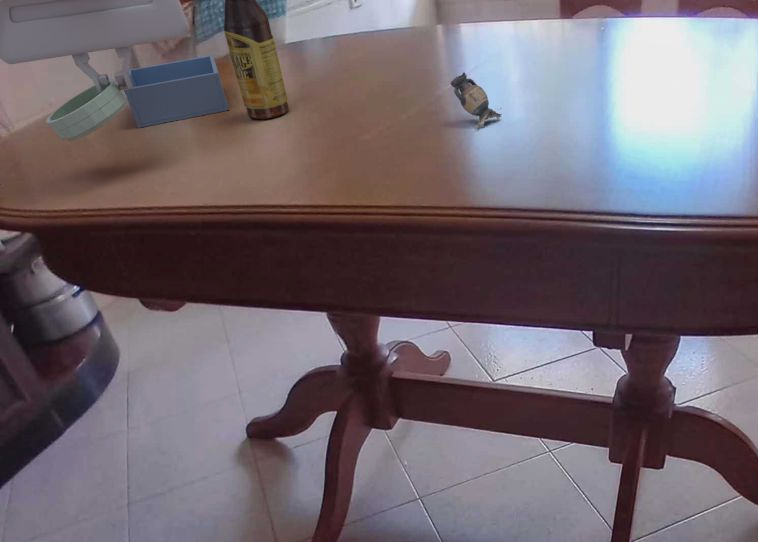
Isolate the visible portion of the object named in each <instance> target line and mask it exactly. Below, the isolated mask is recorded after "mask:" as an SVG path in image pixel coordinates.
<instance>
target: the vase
mask: <svg viewBox="0 0 758 542" xmlns="http://www.w3.org/2000/svg"><path fill="white" fill-rule="evenodd" d="M468 74H470V72H468ZM450 86H451V87H453V88H454V89H453V93H454V95H455V96H456V98H457V99H458V100H459V102H460V105H461V107H462V108H463V109H464V111H465V112H467V113H468V114H469V115H472V116H476V117H478V118H479V121H478V123H477V124H476V125H473V126H472V127H469V129H470V130H472V129H473V128H474V130H475V132H477V130H478V129H480V128H485V122H486V120H488V119H493V118H496V119H497V120H499V119H501V117H502V115H503V113H498V112H497V111H499V112H500V111H501V110H502V109H503V108H502V107H500V108H495V110H494V109H492V108H490V107H489V105H490V102H489V97H488V95H487V93H486V91H485V90H484V88H483V87H482V86H480V85H478V84H477V83H476V82H475V80H473V79H472V78H467V74H466V72H463V73H462V74H461V75H458V76H455V78H453V79H452V81H451V82H450ZM496 110H497V111H496Z"/></svg>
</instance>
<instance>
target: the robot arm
mask: <svg viewBox="0 0 758 542" xmlns="http://www.w3.org/2000/svg"><path fill="white" fill-rule="evenodd" d="M189 30H190V25H189V23H188V20H187V16H186V15H185V11H184V9H183V6H182V3H181V1H180V0H0V60H1V61H2V62H4V63H6V64H7V65H17V64H24V63H29V62H35V61H36V62H37V61H43V60H49V59H57V58H62V57H68V56H72V60H73V62H74V64H75V67H77V68H78V69H79V70H80V71H81V72H83V73H84V75H86V76H87V77H88V78H89V79H91V80H92V81H93V84H94V85H95V87H96V89H97V92H98V93H99V94H100V93H101V92H102V91H104V90H105V89H106V88H107V87H108V85H109V84H110V82H108V81H109V79H110V78H109V76H108V73H99V72H98V71H97V70H96V69H95V68H93V67H92V66H91V64H89V62H90V59H91V58H90V55H89V53H94V52H101V51H108V50H113V49H114V50H115V53H116V55H117V58H118V59H123V63H122V68H121V70H119V71H115V72H114V74H113V77H114V81H115V82H116V83H117V84H118V87H119V90H122V91H124V89H131V88H133V84H132V81H131V78H130V75H129V72H128V71H129V70H130V66H131V61H132V55H133V52H132V49H131V47H133V46H139V45H146V44H153V43H159V42H166V41H171V40H178V39H184V38H185V37H187V34H188V32H189Z"/></svg>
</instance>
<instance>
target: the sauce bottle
mask: <svg viewBox="0 0 758 542" xmlns="http://www.w3.org/2000/svg"><path fill="white" fill-rule="evenodd" d="M223 17H224V20H223V32H224V36H225V37H224V38H225V41H226V44H227V47H228V50H229V55H230V59H231V63H232V66H233V69H234V74H235V77H236V80H237V84H238V87H239V92H240V94H241V98H242V102H243V105H244V107H245V110H246V112H247V115H248V117H250V118H251V119H257V120H268V119H272V118H276V117H279V116H282V115H284V114H286V113H287V112H289V109H290V108H289V103H288V100H289V99H288V94H287V89H286V86H285V82H284V78H283V73H282V69H281V64H280V60H279V56H278V51H277V47H276V42H275V39H274V36H273V34H272V29H271V24H270V20H269V17H268V15H267V13H266V11H265V10H264V9H263V7H262V6H261V5H260V4H259V3H258V1H257V0H224V16H223Z"/></svg>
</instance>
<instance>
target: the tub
mask: <svg viewBox="0 0 758 542" xmlns="http://www.w3.org/2000/svg"><path fill="white" fill-rule="evenodd" d="M128 72H129V75H130V78H131V81H132V84H133V88H131V89H124V90H123V92H124V93H125V94H126V96H127V100H126V101H127V103H128V105H129V107H130V111H131V113H132V116H133V118H134V121H135V123H136V125H137V128H138V129H140V128H145V127H151V126H156V125H160V124H161V125H162V124H166V123H171V122H170V121H172V122H177V121H182V120H187V119H192V118H196V117H201V116H206V115H212V114H216V113H223V112H227V110H228V111H230V106H229V103H228V100H227V97H226V93H225V88H224V86H223V82H222V80H221V76H220V73H219V70H218V67H217V63H216V60H215V57H214V54H211V55H205V56H199V57H194V58H188V59H181V60H176V61H171V62H166V63H160V64H154V65H148V66H142V67H137V68H131V69H130V68H129V71H128ZM176 120H177V121H176ZM165 122H166V123H165Z"/></svg>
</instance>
